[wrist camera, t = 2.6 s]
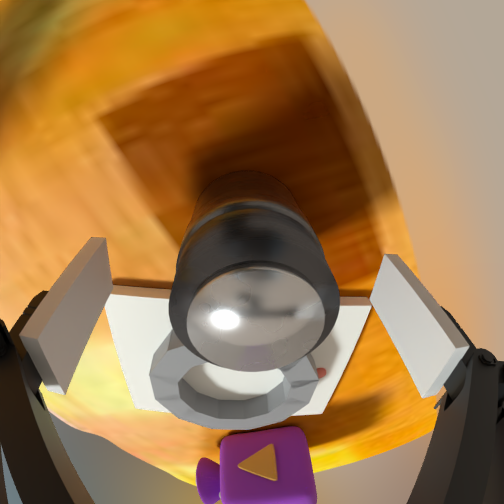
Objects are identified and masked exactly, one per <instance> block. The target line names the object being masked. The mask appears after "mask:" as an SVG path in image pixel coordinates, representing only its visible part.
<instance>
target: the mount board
mask: <svg viewBox="0 0 504 504" xmlns="http://www.w3.org/2000/svg"><path fill="white" fill-rule="evenodd" d="M170 293H171V290H170V289H156V288H144V287H131V286H120V285H113V290H112V292H111V294H110V296H109V298H108V300H107V302H106V304H105V309H106V314H107V318H108V322H109V325H110V329H111V333H112V337H113V340H114V344H115V347H116V351H117V354H118V358H119V361H120V364H121V367H122V371H123V374H124V377H125V380H126V383H127V386H128V389H129V392H130V394H131V397H132V400H133V403H134V405H135V408H137V409H144V410H152V411H160V412H169V413H172V414H174V415H175V416H176V417H178V418H179V419H182V420H185V421H188V422H191V423H194V424H197V425H201V426H204V427H207V428H211V429H229V430H250V429H254V428H258V427H262V426H266V425H270V424H274V423H277V422H281V421H284V420H285V419H287V418H288V417H290V416H297V415H312V414H322V413H323V411H324V409H325V407H326V405H327V403H328V401H329V400H330V398H331V396H332V394H333V392H334V390H335V388H336V386H337V384H338V382H339V380H340V378H341V375H342V373H343V371H344V369H345V367H346V365H347V363H348V361H349V358H350V356H351V354H352V352H353V350H354V347H355V345H356V343H357V340H358V338H359V336H360V333H361V331H362V329H363V326H364V324H365V321H366V319H367V317H368V314H369V312H370V309H371V306H372V305H371V303H370V301H369V300H368V298H367V297H340V309H339V314H338V318H337V320H336V323H335V325H334V327H333V329H332V330H331V332H330V334H329V335H328V336H327V337H326V339H325V340H324V341H323V342H322V343H321V344H320V345H319V346H318V347H317V348H316V349H314V350H313V351H312V352H311V353H309V354H308V355H306V356H304V357H303V358H301V359H299V360H297V361H295V362H293V363H290V364H288V365H286V366H283V367H280V368H277V369H273V370H268V371H261V372H242V371H235V370H231V369H227V368H223V367H219V366H216V365H213V364H211V363H209V362H206V361H204V360H202V359H201V358H199V357H198V356H196V355H194V354H193V353H192V352H191V351H189V350H188V349H187V348H186V347H185V346H184V345H183V344H182V343H181V341H180V340H179V339H178V337H177V336H176V334H175V332H174V330H173V328H172V325H171V322H170V318H169V298H170Z"/></svg>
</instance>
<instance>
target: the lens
mask: <svg viewBox="0 0 504 504" xmlns="http://www.w3.org/2000/svg"><path fill="white" fill-rule="evenodd" d="M339 309H340V293H339V289H338V285H337V283H336V281H335V278H334V276H333V274H332V272H331V270H330V268H329V266H328V264H327V262H326V260H325V256H324V252H323V249H322V246H321V244H320V242H319V240H318V238H317V236H316V234H315V232H314V230H313V228H312V227H311V225H310V223H309V221H308V219H307V218H306V216H305V215H304V213H303V212H302V211H301V210H300V208H299V207H298V205H297V203H296V201H295V199H294V197H293V195H292V194H291V192H290V191H289V189H288V188H287V187H286V186H285V185H284V184H283V183H281V182H280V181H279V180H277V179H276V178H274V177H272V176H270V175H268V174H265V173H262V172H257V171H236V172H232V173H229V174H226V175H224V176H221V177H220V178H218V179H216V180H215V181H213V182H212V183H211V184H210V185H209V186H208V187H207V188H206V189H205V190H204V191H203V192H202V194H201V195H200V197H199V199H198V201H197V203H196V206H195V209H194V212H193V215H192V219H191V221H190V223H189V224H188V226H187V229H186V232H185V234H184V238H183V241H182V244H181V248H180V251H179V254H178V259H177V264H176V274H175V278H174V282H173V286H172V289H171V293H170V298H169V318H170V322H171V325H172V328H173V330H174V332H175V334H176V336H177V337H178V339H179V340H180V341H181V343H182V344H183V345H184V346H185V347H186V348H187V349H188V350H189V351H191V352H192V353H193V354H194V355H196V356H198V357H199V358H201V359H202V360H204V361H206V362H209V363H211V364H213V365H216V366H219V367H223V368H227V369H231V370H235V371H242V372H261V371H268V370H273V369H277V368H280V367H283V366H286V365H288V364H290V363H293V362H295V361H297V360H299V359H301V358H303V357H304V356H306V355H308V354H309V353H311V352H312V351H313V350H314V349H316V348H317V347H318V346H319V345H320V344H321V343H322V342H323V341H324V340H325V339H326V337H327V336H328V335H329V334H330V332H331V330H332V329H333V327H334V325H335V323H336V320H337V318H338V314H339Z"/></svg>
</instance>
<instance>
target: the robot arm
mask: <svg viewBox="0 0 504 504" xmlns="http://www.w3.org/2000/svg"><path fill="white" fill-rule="evenodd" d="M112 290H113V283H112V277H111V271H110V265H109V258H108V251H107V243H106V238H99V237H91V238H90V239H89V240H88V242H87V243H86V244H85V245H84V246H83V248H82V249H81V250H80V251H79V253H78V254H77V255H76V256H75V258H74V259H73V260H72V261H71V263H70V264H69V265H68V266H67V268H66V269H65V270H64V272H63V273H62V274H61V276H60V277H59V278H58V279H57V281H56V282H55V283H54V285H53V286H52V288H51V289H50V290H49V291H44V290H43V291H42V292H40V293H39V294H38V295H36V296H35V297H34V298H33V299H32V300H31V302H30V303H29V305H28V308H27V307H26V309H25V310H24V312H23V315H22V314H21V316H20V317H19V319H18V320H17V322H16V323H15V325H14V326H13V327H12V329H11V330H10V332H8V330H7V327H6V325H5V323H4V321H3V320H1V319H0V504H8V500H7V494H6V488H5V481H4V475H3V466H2V456H1V445H2V448H3V452H4V455H5V458H6V461H7V464H8V467H9V470H10V473H11V476H12V478H13V481H14V484H15V486H16V489H17V491H18V493H19V496H20V498H21V501H22V503H23V504H95V503H94V501H93V500H92V498H91V496H90V495H89V493H88V491H87V490H86V488H85V486H84V485H83V483H82V481H81V479H80V478H79V476H78V474H77V472H76V470H75V468H74V466H73V464H72V463H71V461H70V459H69V457H68V455H67V453H66V451H65V448H64V446H63V444H62V442H61V440H60V438H59V436H58V433H57V431H56V429H55V426H54V424H53V422H52V419H51V417H50V414H49V412H48V409H47V407H46V404H45V401H44V399H43V396H42V393H41V392H40V390H39V386H40V384H41V382H42V381H43V383H44V385H45V386H46V388H47V390H48V391H51V392H55V393H59V394H63V395H65V394H66V392H67V389H68V387H69V384H70V382H71V379H72V377H73V374H74V372H75V369H76V367H77V365H78V362H79V360H80V358H81V355H82V353H83V351H84V348H85V346H86V344H87V342H88V339H89V337H90V335H91V333H92V331H93V329H94V326H95V324H96V322H97V320H98V318H99V316H100V314H101V312H102V310H103V308H104V306H105V304H106V302H107V300H108V298H109V296H110V294H111V292H112ZM369 300H370V302H371V303H372V305H373V307H374V308H375V310H376V312H377V314H378V315H379V317H380V319H381V321H382V323H383V324H384V326H385V328H386V330H387V332H388V333H389V335H390V337H391V339H392V341H393V343H394V344H395V346H396V348H397V350H398V352H399V354H400V356H401V357H402V359H403V361H404V363H405V365H406V367H407V369H408V371H409V373H410V375H411V377H412V379H413V381H414V383H415V385H416V387H417V389H418V391H419V393H420V395H421V397H422V398H425V397H429V396H433V395H436V394H437V393H438V392H439V390H440V389H441V387H442V386H443V385H444V387H445V388H446V390H447V391H446V392H445V393H444V395H443V396H442V398H441V399H440V400H439V401H438V402H437V404H436V405H435V407H434V409H436V408H437V407H438V406H439V405H440V409H439V413H438V417H437V421H436V424H435V428H434V431H433V435H432V438H431V441H430V444H429V447H428V450H427V453H426V456H425V459H424V462H423V465H422V467H421V470H420V473H419V475H418V478H417V481H416V483H415V485H414V488H413V490H412V493H411V495H410V497H409V500H408V502H407V504H504V361H497V359H496V358H495V356H494V355H493V354H492V353H491V352H489V351H488V350H486V349H482V348H480V349H476V347H475V346H474V344H473V343H472V342H471V340H470V339H469V338H468V336H467V335H466V334H465V332H464V331H463V329H461V328H460V326H459V324H458V323H457V322H456V320H455V319H454V318H453V316H452V315H451V314H450V313H449V312H448V311H447V310H445V309H444V308H443V307H442V306H440V305H439V304H438V303H437V302H436V300H435V299H434V298H433V297H432V295H431V294H430V293H429V292H428V290H427V289H426V288H425V287H424V286H423V284H422V283H421V282H420V281H419V279H418V278H417V277H416V276H415V275H414V273H413V272H412V271H411V270H410V269H409V268H408V266H407V265H406V264H405V263H404V262H403V261H402V260H401V258H400V257H399V256H398V255H395V254H384V257H383V260H382V264H381V267H380V270H379V273H378V276H377V279H376V282H375V285H374V288H373V290H372V293H371V296H370V299H369Z"/></svg>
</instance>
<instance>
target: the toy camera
mask: <svg viewBox="0 0 504 504" xmlns="http://www.w3.org/2000/svg"><path fill="white" fill-rule="evenodd" d="M196 485H197V488H198V492H199V495H200V498H201V500H202V501H203V503H204V504H214V503H215V502H217V501H218V500H220V499H221V500H222V503H223V504H316V503H317V493H316V486H315V481H314V475H313V469H312V463H311V458H310V453H309V448H308V443H307V440H306V437H305V434H304V432H303V431H302V430H301V429H300V428H299V427H296V426H290V427H282V428H276V429H270V430H263V431H256V432H249V433H242V434H235V435H230V436H226V437H224V438H223V440H222V442H221V446H220V465H219V464H217V463H216V462H214V461H212V460H210V459H208V458H201V459H200V460H199V462H198V465H197V470H196Z"/></svg>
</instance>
